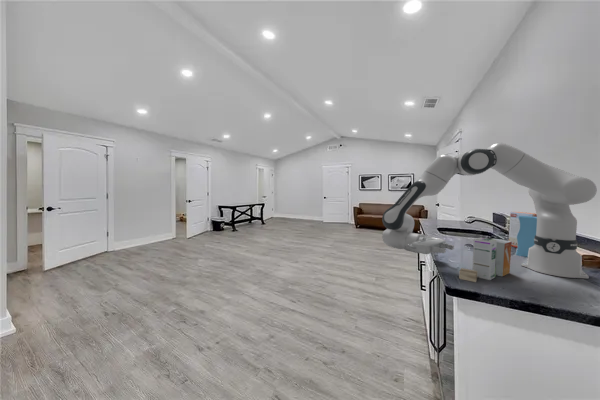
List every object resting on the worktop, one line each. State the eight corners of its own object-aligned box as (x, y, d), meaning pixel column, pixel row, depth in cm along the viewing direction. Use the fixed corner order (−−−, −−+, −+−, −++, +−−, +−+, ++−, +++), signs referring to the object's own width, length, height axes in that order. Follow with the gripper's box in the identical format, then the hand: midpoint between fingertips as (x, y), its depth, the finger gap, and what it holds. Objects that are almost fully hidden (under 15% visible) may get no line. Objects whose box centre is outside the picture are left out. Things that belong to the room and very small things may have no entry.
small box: (502, 277, 90) (505, 243, 89) (482, 272, 95) (484, 240, 95) (510, 273, 94) (512, 241, 94) (490, 268, 100) (492, 238, 99)
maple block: (461, 275, 91) (461, 268, 91) (477, 279, 88) (477, 271, 88) (459, 279, 88) (459, 271, 87) (475, 282, 84) (476, 274, 84)
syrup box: (490, 280, 86) (492, 241, 85) (471, 275, 91) (473, 238, 90) (495, 277, 89) (497, 239, 88) (476, 272, 94) (479, 236, 93)
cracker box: (540, 251, 130) (543, 214, 129) (529, 251, 130) (532, 213, 129) (517, 245, 144) (520, 211, 143) (507, 245, 144) (510, 211, 143)
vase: (516, 252, 128) (518, 215, 127) (536, 255, 122) (539, 217, 121) (515, 255, 122) (518, 216, 121) (537, 258, 117) (540, 218, 116)
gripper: (405, 239, 103) (439, 245, 92) (425, 233, 116) (458, 238, 105) (404, 253, 103) (439, 261, 92) (425, 246, 116) (457, 252, 105)
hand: (449, 249), depth 99 cm, fingers open, 8 cm apart
